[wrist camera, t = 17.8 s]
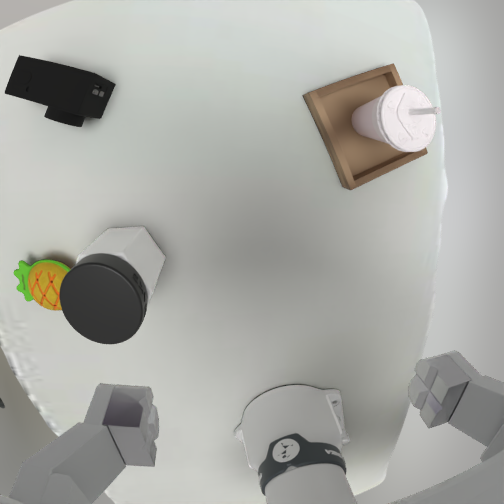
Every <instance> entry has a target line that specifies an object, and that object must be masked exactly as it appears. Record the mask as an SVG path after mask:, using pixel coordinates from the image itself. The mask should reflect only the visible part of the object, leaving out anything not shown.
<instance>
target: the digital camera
mask: <svg viewBox="0 0 504 504" xmlns="http://www.w3.org/2000/svg"><path fill="white" fill-rule="evenodd" d="M114 87H115V84H114V83H112V82H110V81H109V80H107V79H105V78H103V77H101V76H99V75H97V74H95V73H92V72H89V71H85V70H81V69H77V68H74V67H70V66H66V65H62V64H57V63H53V62H49V61H45V60H40V59H35V58H30V57H25V56H20V55H19V57H18V59H17V62H16V64H15V66H14V69H13V71H12V74H11V76H10V79H9V82H8V84H7V87H6V90H5V94H9V95H12V96H16V97H19V98H23V99H26V100H30V101H33V102H37V103H40V104H43V105H47V106H48V108H47V111H46V113H45V116H44V117H46V118H48V119H51V120H54V121H57V122H60V123H64V124H68V125H72V126H77V127H82V124H83V122H84V119H85V116H87V117H93V118H99V119H100V118H101V117H102V115H103V113H104V110H105V108H106V105H107V103H108V101H109V98H110V96H111V94H112V91H113V89H114Z"/></svg>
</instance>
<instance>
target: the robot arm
mask: <svg viewBox="0 0 504 504" xmlns="http://www.w3.org/2000/svg"><path fill="white" fill-rule="evenodd" d="M415 372H416V375H415V376H414V377H413V378H412V379H411V381H410V384H409V387H408V392H409V398H410V401H411V403H412V404H413V406H414V407H416V408H418V409H420V410H421V411H420V416H421V418H422V419H423V421H424V422H425V423H426V425H427V427H428V428H432V427H434V426H437V425H441V424H444V423H446V422H448V423H449V424H451V425H452V426H454V427H455V428H457V429H459V430H460V431H462V432H464V433H465V434H467V435H468V436H470V437H472V438H473V439H475V440H477V441H479V442H480V443H482V444H483V445H485V446H487V448H486V449H485V451H484V452H483V454H482V455H481V458H480V459H481V461H482V463H480V464H478V465H476V466H474V467H472V468H470V469H469V470H467V471H465V472H463V473H461V474H459V475H457V476H455V477H453V478H450V479H448V480H446V481H444V482H442V483H440V484H437V485H435V486H433V487H431V488H428V489H426V490H423V491H421V492H418V493H416V494H413V495H410V496H408V497H405V498H402V499H400V500H397V501H394V502H391V503H388V504H504V382H501V381H499V380H496V379H493V378H491V377H488V376H482V375H480V374H479V372H478V371H477V370H476V369H475V368H474V367H473V366H472V365H471V364H470V363H469V362H468V361H467V360H466V359H465V358H464V357H463V356H462V355H461V354H460V353H459V352H457V351H452V352H448V353H445V354H441V355H438V356H433V357H430V358H426V359H421V360H420V361H419V362H418V363H417V364H416V367H415ZM152 402H153V393H152V390H151V388H150V387H145V386H129V385H111V384H102V383H100V384H99V385H98V386H97V388H96V390H95V393H94V396H93V398H92V401H91V403H90V406H89V409H88V412H87V414H86V417H85V420H84V423H77V424H76V425H75V426H73V427H72V428H70V429H69V430H68V431H66V432H65V433H63V434H62V435H61V436H59V437H58V438H57V439H55V440H54V441H52V442H51V443H49V444H48V445H47V446H45V447H44V448H42V449H41V450H40V451H38V452H37V453H35V454H34V455H32V456H31V457H30V458H28V459H27V460H25V461H24V462H23V463H22V465H21V467H20V470H19V472H18V475H17V478H16V480H15V483H14V485H13V488H12V491H11V493H10V497H6V496H4V495H1V494H0V504H92V503H93V502H94V501H95V500H96V499H97V498H98V497H99V496H100V495H101V494H102V493H103V491H104V490H105V489H106V488H107V487H108V486H109V485H110V484H111V483H112V482H113V480H114V479H115V478H116V477H117V476H118V475H119V474H120V473H121V472H122V470H123V469H124V468H125V467H126V465H133V466H152V467H154V466H155V458H156V450H157V448H156V446H155V443H154V440H155V439H157V438H158V433H159V418H158V412H157V408H156V407H155V406H154V405H153V404H152ZM234 435H235V438H236V439H237V440H239V441H240V442H242V443H243V444H244V448H245V452H246V457H247V461H248V465H249V467H250V468H252V469H253V470H255V471H257V472H258V475H259V485H260V487H261V490H262V493H263V494H264V495H265V496H266V501H267V504H357V502H356V500H355V498H354V495H353V493H352V490H351V488H350V485H349V483H348V480H347V478H346V467H345V461H344V458H343V457H342V445H345V444H348V443H349V442H350V440H349V436H348V434H347V432H346V431H345V426H344V417H343V408H342V399H341V394H340V391H339V390H336V389H326V390H321V389H317V388H314V387H311V386H305V385H289V386H283V387H279V388H276V389H273V390H270V391H268V392H265V393H264V394H262V395H260V396H258V397H257V398H256V399H254V400H253V401H252V402H251V403H250V404H249V405H248V406H247V408H246V409H245V411H244V414H243V418H242V422H241V424H240V425H239V426H238V427H237V428H236V430H235V431H234Z"/></svg>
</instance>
